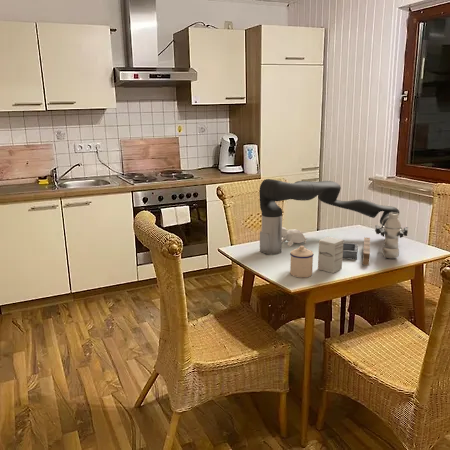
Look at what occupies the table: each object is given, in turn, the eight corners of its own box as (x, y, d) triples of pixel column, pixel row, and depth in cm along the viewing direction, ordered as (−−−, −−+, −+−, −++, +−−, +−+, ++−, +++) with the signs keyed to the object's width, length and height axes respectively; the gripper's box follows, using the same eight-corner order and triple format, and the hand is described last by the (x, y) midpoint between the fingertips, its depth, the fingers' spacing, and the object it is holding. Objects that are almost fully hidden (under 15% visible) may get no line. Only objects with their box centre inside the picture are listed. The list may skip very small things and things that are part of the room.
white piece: (296, 245, 225) (270, 238, 220) (302, 230, 224) (276, 221, 219) (303, 250, 217) (277, 242, 212) (310, 234, 216) (283, 226, 211)
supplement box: (317, 269, 184) (318, 239, 181) (326, 264, 189) (328, 236, 186) (333, 273, 179) (334, 243, 176) (342, 269, 184) (344, 239, 181)
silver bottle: (399, 260, 193) (403, 215, 188) (382, 259, 194) (386, 214, 189) (397, 255, 199) (401, 211, 194) (381, 255, 200) (384, 211, 195)
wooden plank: (368, 265, 188) (369, 253, 187) (362, 264, 189) (363, 253, 188) (369, 248, 210) (369, 237, 209) (363, 247, 211) (364, 237, 210)
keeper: (356, 259, 195) (357, 251, 194) (327, 257, 199) (327, 249, 198) (357, 250, 206) (358, 243, 205) (329, 248, 210) (330, 241, 209)
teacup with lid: (317, 276, 177) (318, 247, 174) (297, 279, 174) (298, 251, 171) (300, 266, 188) (301, 239, 185) (281, 269, 184) (282, 242, 181)
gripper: (374, 216, 208) (375, 225, 193) (408, 218, 204) (411, 227, 188) (373, 232, 210) (373, 242, 195) (406, 234, 206) (409, 244, 190)
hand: (392, 234), depth 192 cm, fingers closed on silver bottle, 6 cm apart
